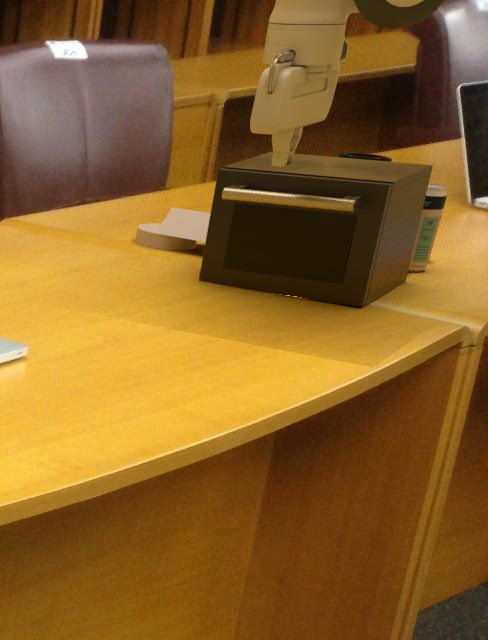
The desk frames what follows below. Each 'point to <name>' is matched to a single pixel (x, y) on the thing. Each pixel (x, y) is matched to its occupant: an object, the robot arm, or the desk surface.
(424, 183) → the oven
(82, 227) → the desk surface
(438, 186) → the pink and green canister
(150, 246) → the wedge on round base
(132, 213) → the desk surface
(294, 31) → the robot arm
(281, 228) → the oven door
